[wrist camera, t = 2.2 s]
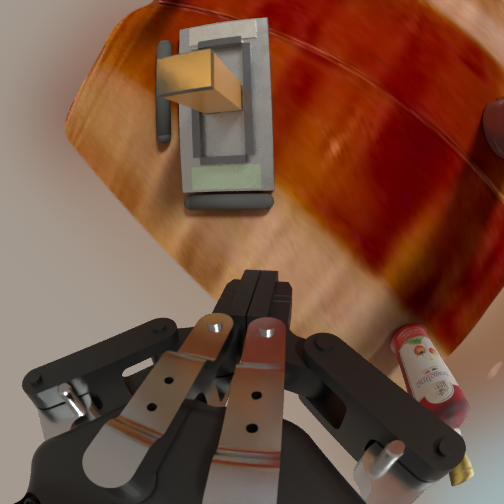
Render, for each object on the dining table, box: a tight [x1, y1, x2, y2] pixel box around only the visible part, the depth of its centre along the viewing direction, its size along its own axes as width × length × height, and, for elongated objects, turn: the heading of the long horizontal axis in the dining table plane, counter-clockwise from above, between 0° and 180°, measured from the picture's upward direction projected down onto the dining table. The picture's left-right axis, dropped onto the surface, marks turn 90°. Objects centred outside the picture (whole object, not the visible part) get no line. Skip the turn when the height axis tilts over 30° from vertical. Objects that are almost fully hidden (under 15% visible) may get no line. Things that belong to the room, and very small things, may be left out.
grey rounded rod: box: [156, 40, 171, 143], centre depth 32 cm, size 16×2×2 cm, turn 2°
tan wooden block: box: [157, 48, 242, 114], centre depth 25 cm, size 4×5×13 cm
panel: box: [179, 18, 275, 193], centre depth 31 cm, size 24×12×3 cm, turn 2°
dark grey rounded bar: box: [184, 194, 274, 210], centre depth 36 cm, size 12×2×2 cm, turn 92°
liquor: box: [390, 323, 474, 486], centre depth 26 cm, size 7×7×28 cm
